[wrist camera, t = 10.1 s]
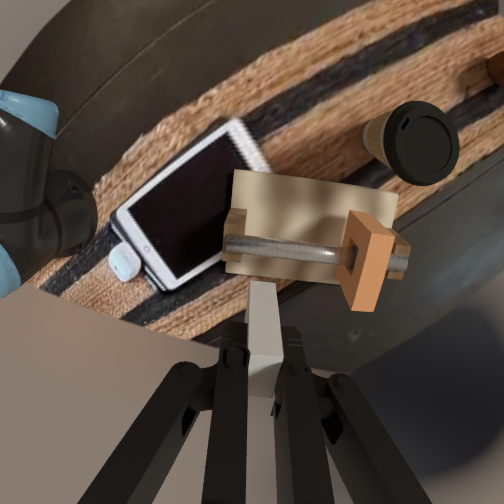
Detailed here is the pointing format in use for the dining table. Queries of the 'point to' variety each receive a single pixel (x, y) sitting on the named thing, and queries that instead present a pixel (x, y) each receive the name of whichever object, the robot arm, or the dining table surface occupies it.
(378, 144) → the coffee cup
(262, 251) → the pipe
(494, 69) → the wooden figurine
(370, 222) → the orange square ring
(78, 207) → the robot arm
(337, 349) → the dining table surface
